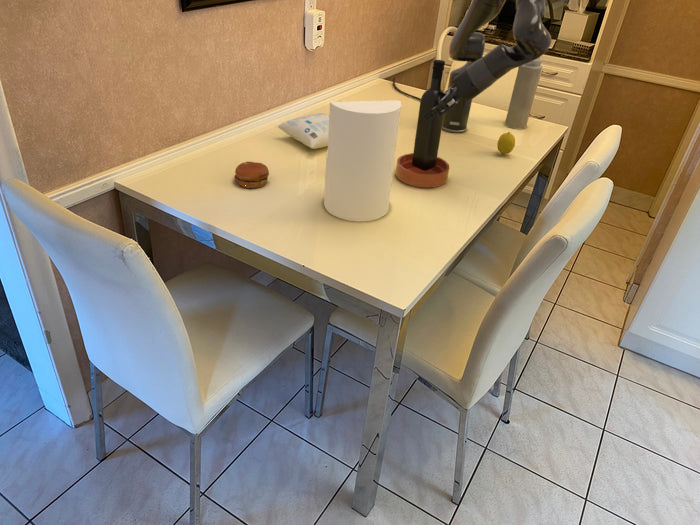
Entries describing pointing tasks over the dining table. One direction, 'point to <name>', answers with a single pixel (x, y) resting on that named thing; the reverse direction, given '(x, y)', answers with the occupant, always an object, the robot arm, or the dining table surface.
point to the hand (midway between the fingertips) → (425, 116)
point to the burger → (251, 174)
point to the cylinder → (360, 158)
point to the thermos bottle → (523, 94)
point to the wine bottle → (429, 123)
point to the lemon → (506, 143)
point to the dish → (421, 172)
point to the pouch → (308, 129)
